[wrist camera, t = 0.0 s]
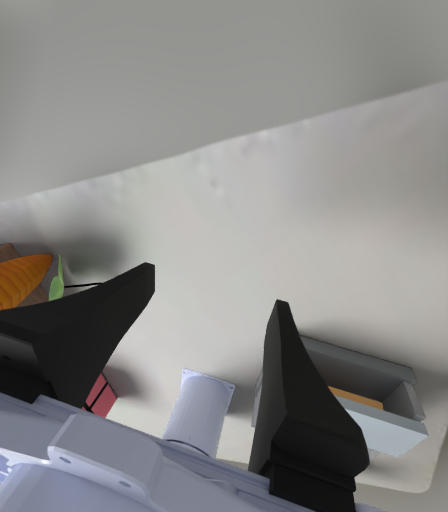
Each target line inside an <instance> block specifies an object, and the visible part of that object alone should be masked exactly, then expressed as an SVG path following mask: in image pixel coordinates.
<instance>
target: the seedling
mask: <svg viewBox="0 0 448 512" xmlns="http://www.w3.org/2000/svg"><path fill="white" fill-rule="evenodd" d="M99 284H102V283H91V284H84V285H71V286H64V281H63V271H62V263H61V257H60V254H59V265H58V277H57V276H55V277H54V278H53V279H52V282H51V285H50V290H49V301H51V300H55V299H59V298H62V295H63V291H64V288H70V287H82V286H90V285H99Z"/></svg>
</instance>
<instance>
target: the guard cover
mask: <svg viewBox="0 0 448 512" xmlns="http://www.w3.org/2000/svg"><path fill="white" fill-rule="evenodd" d="M334 396H335V397H336V398H337V400H338V401H339V402H340V404H341V405H342V406H343V407H344V409H345V410H346V411H347V412H348V413H349V414H350V416H351V417H352V418H353V419H354V420H355V421H356V423H357V424H358V425H359V426H360V427H361V429H362V432H363V435H364V438H365V441H366V445H367V448H370V449H373V450H376V451H379V452H382V453H385V454H388V455H391V456H394V457H397V458H398V457H400V456H401V455H402V454H404V453H405V452H407V451H408V450H410V449H411V448H412V447H414V446H415V445H417V444H418V443H420V442H421V441H423V440H424V439H425V438H427V437H428V436H429V435H428V432H427V430H426V427H425V425H424V423H421V422H418V421H415V420H411V419H408V418H405V417H402V416H399V415H396V414H393V413H390V412H386V411H383V410H380V409H377V408H374V407H371V406H368V405H364V404H361V403H358V402H355V401H352V400H349V399H346V398H342V397H339V396H336V395H334Z"/></svg>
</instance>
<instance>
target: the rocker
mask: <svg viewBox="0 0 448 512" xmlns="http://www.w3.org/2000/svg"><path fill="white" fill-rule="evenodd" d="M328 387H329V389H330V390H331V392H332V393H333V395H336V396H339V397H342V398H346V399H349V400H352V401H355V402H358V403H361V404H364V405H368V406H371V407H374V408H377V409H380V410H383V404H382V403H381V402H378V401H375V400H371V399H368V398H365V397H362V396H359V395H356V394H352V393H349V392H346V391H343V390H340V389H336V388H333V387H330V386H328ZM383 411H384V410H383Z"/></svg>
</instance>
